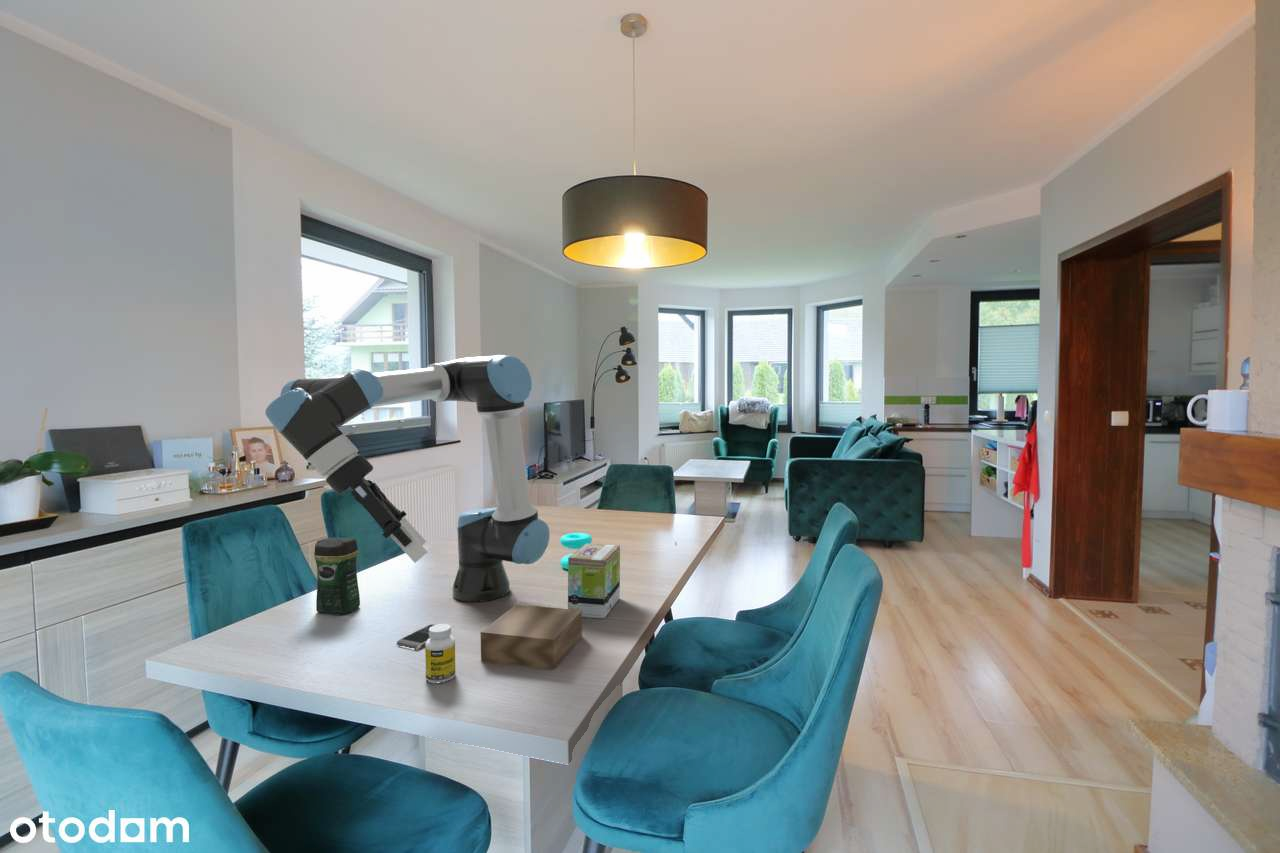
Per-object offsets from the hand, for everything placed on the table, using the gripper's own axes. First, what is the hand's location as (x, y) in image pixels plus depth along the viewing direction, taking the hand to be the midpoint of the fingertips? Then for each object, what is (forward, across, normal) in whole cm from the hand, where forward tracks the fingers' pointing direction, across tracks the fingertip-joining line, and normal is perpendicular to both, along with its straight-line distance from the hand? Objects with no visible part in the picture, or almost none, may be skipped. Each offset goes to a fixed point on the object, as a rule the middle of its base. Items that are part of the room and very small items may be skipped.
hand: (421, 551), depth 107 cm
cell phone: (+19, -22, -14) cm, 33 cm away
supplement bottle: (+22, -2, -13) cm, 25 cm away
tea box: (+43, -26, +19) cm, 54 cm away
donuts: (+44, -62, +25) cm, 80 cm away
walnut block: (+33, -8, +3) cm, 34 cm away
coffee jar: (+4, -49, -28) cm, 57 cm away
